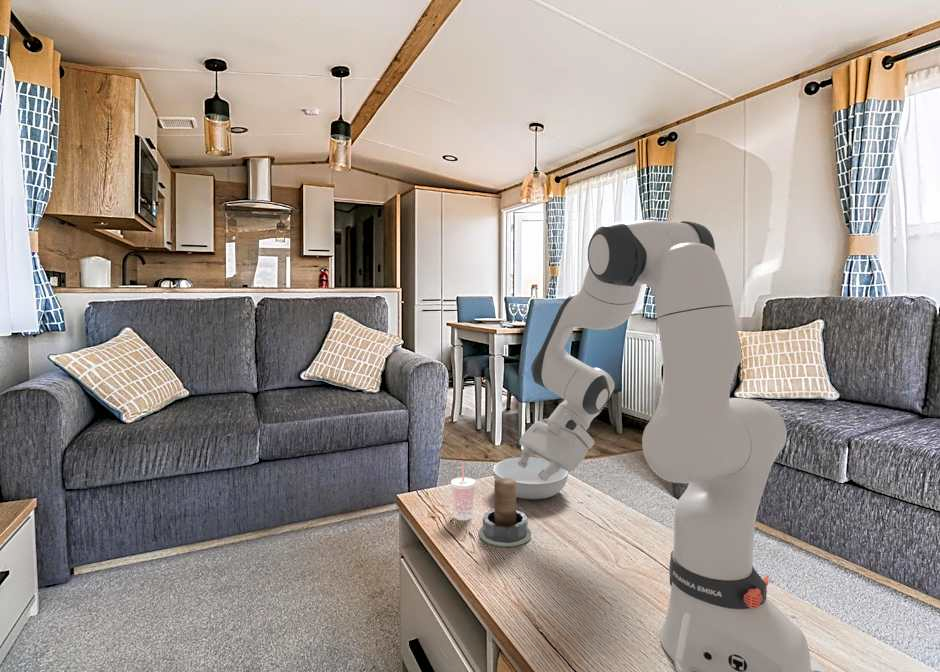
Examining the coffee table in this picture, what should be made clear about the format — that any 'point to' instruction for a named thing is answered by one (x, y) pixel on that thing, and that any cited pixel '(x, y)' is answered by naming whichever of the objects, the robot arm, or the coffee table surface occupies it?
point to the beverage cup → (463, 496)
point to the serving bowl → (531, 478)
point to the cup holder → (505, 531)
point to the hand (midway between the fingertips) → (530, 472)
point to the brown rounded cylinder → (505, 501)
